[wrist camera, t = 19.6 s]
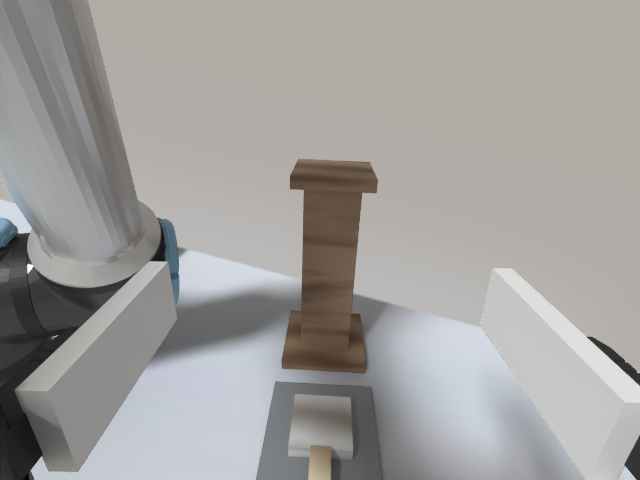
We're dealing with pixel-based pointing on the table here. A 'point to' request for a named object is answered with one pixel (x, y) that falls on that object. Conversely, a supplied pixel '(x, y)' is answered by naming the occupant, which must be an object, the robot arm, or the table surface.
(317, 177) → the pedestal
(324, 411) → the bar
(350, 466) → the mat
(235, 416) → the table surface
